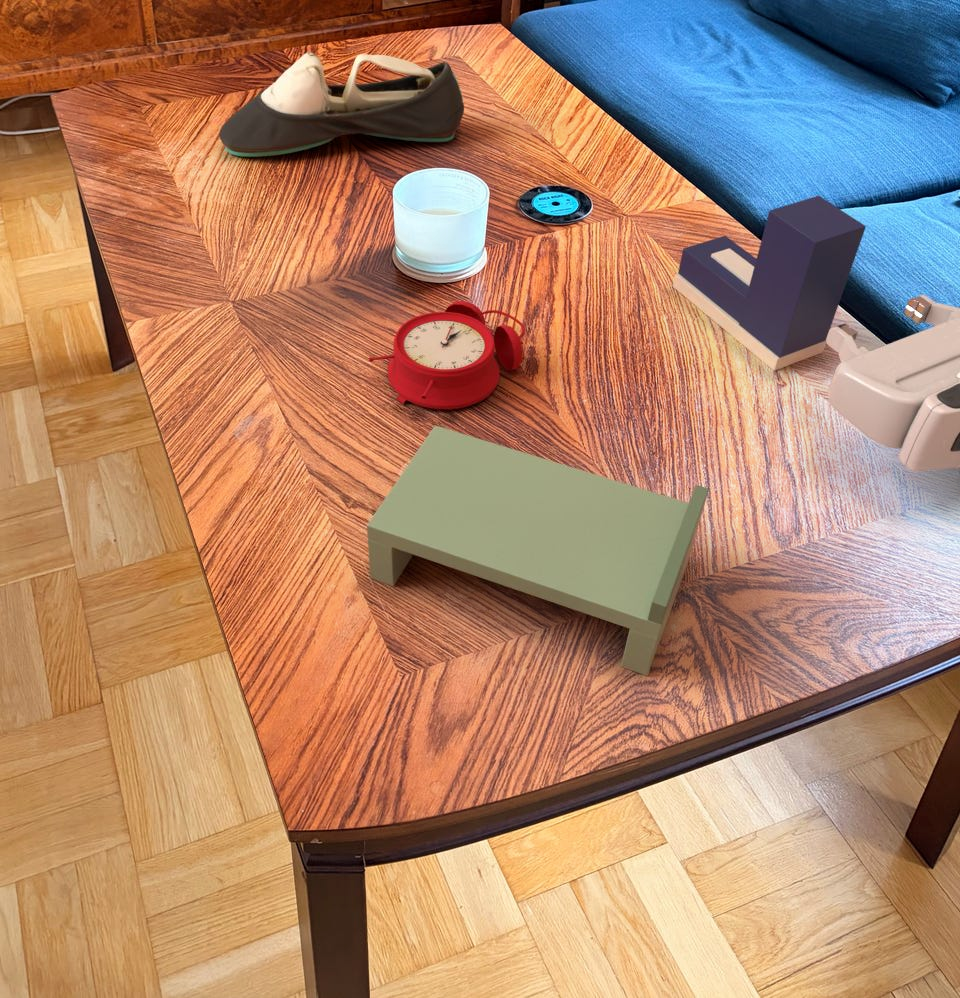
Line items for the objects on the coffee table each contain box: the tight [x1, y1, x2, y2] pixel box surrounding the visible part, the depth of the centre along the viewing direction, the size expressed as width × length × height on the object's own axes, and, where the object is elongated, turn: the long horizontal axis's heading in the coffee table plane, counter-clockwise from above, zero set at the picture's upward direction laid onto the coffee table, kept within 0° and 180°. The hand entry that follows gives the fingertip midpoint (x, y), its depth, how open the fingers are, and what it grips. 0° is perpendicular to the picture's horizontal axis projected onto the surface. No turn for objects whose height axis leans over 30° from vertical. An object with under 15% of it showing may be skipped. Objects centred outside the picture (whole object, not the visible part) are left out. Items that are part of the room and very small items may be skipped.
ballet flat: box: [218, 51, 465, 158], centre depth 123 cm, size 10×30×10 cm, turn 106°
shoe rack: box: [366, 425, 710, 677], centre depth 75 cm, size 22×12×8 cm, turn 67°
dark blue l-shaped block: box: [672, 195, 867, 372], centre depth 97 cm, size 16×6×14 cm, turn 30°
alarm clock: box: [368, 300, 526, 410], centre depth 93 cm, size 10×6×15 cm
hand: (873, 317), depth 88 cm, fingers open, 8 cm apart
